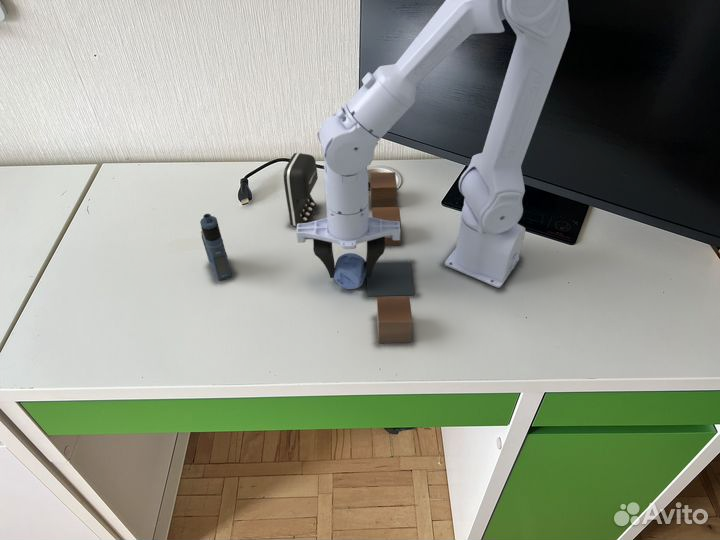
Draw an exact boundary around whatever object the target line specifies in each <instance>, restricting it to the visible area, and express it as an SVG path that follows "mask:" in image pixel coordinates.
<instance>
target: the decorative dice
mask: <svg viewBox="0 0 720 540" xmlns="http://www.w3.org/2000/svg"><path fill="white" fill-rule="evenodd" d="M365 278H366V259H364V258H363V257H362V256H361V255H360V254H357V253H355V252H353V253H352V252H346V253H344V254H341V255H340V256H339V257H337V259H336V262H335V270H334V278H333V280H334V281H335V283H336V284H337V285H338V286H339V287H341V288H342V289H346V290H355V289H358V288H360V287H361V286H363V283H364V282H365Z"/></svg>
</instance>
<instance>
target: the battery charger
mask: <svg viewBox="0 0 720 540" xmlns="http://www.w3.org/2000/svg"><path fill="white" fill-rule="evenodd" d="M316 162H317V161H316V158H315V156H313V155H312V154H308V153H301V152H294V153H293V154H292V155H291V156H290V159H289V160H288V162H287V164H286V166H285V168H284V171H283V184H284V191H285V198H286V204H287V211H288V218H289V225H291V226H293V227H297V224H302V223H309V222H311V220H312V218H313V216H314V214H315V212H316V211H317V204H316V202H315V199H313V197H312V195H311V193H312V191H313V189H314V187H315V185H316V183H317V181H318V179H319V176H318V168H317V163H316Z"/></svg>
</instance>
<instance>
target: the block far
mask: <svg viewBox="0 0 720 540" xmlns="http://www.w3.org/2000/svg"><path fill="white" fill-rule="evenodd" d="M369 179H370V180H369V198H370V208H371V209H372V208H378V207H397V198H398V195H397V194H398V183H397V175H396V172H395V171H392V172H391V171H390V172H388V171H387V172H370V173H369Z"/></svg>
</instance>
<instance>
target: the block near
mask: <svg viewBox="0 0 720 540" xmlns="http://www.w3.org/2000/svg"><path fill="white" fill-rule="evenodd" d="M376 327H377V343H378V344H392V343H397V344H398V343H412V342H411V341H412V330H413V315H412V306H411V298H410V296H377V298H376Z"/></svg>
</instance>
